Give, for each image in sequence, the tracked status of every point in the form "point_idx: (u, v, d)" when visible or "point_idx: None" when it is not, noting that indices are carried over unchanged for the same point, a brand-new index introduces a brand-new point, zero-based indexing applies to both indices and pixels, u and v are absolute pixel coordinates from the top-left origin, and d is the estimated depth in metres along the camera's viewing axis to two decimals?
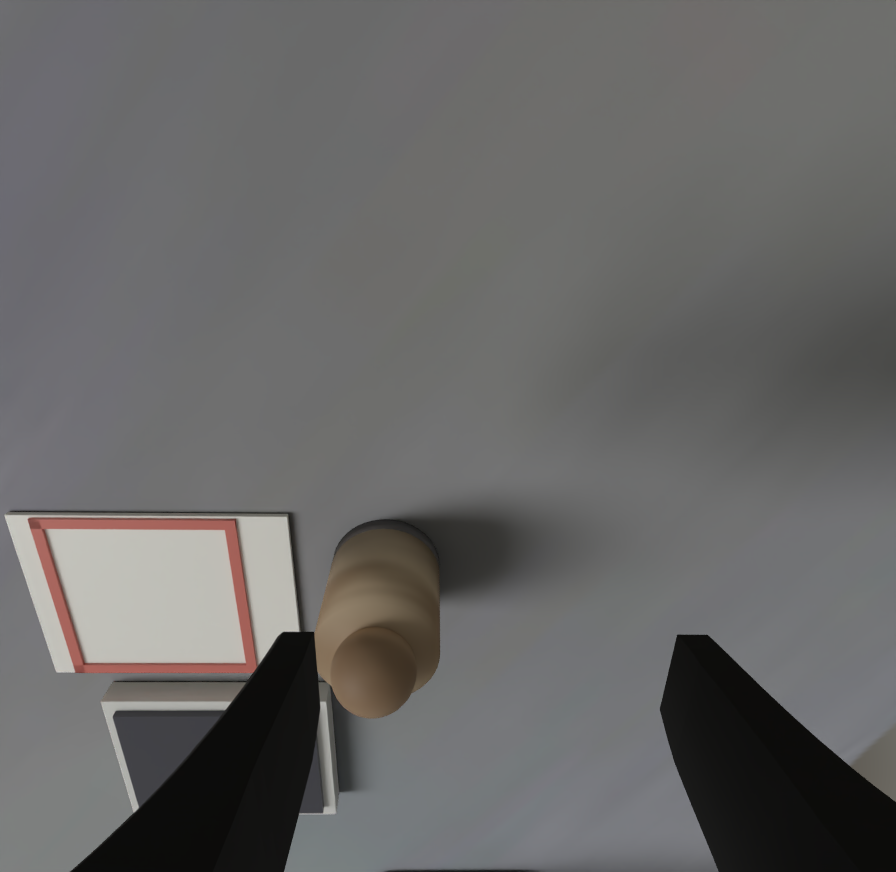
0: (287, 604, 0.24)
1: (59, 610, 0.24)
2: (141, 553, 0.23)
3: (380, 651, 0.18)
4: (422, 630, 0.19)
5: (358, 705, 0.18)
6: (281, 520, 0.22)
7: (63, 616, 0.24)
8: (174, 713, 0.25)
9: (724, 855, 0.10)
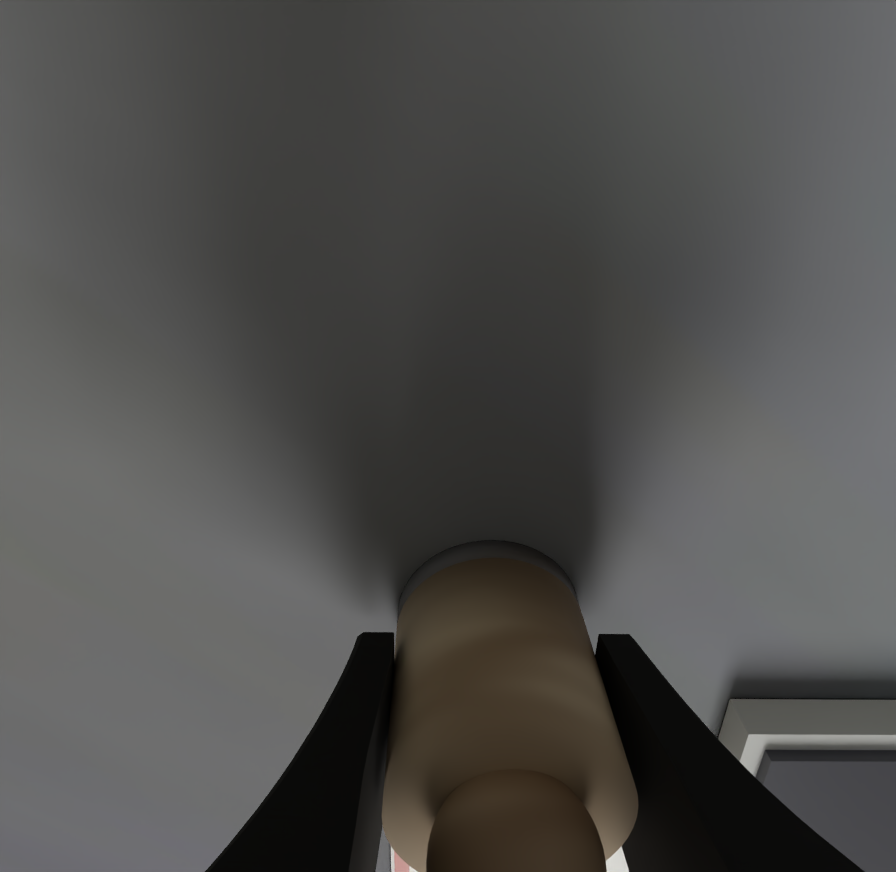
0: None
1: None
2: None
3: None
4: (450, 751, 0.09)
5: None
6: None
7: None
8: None
9: (633, 855, 0.10)
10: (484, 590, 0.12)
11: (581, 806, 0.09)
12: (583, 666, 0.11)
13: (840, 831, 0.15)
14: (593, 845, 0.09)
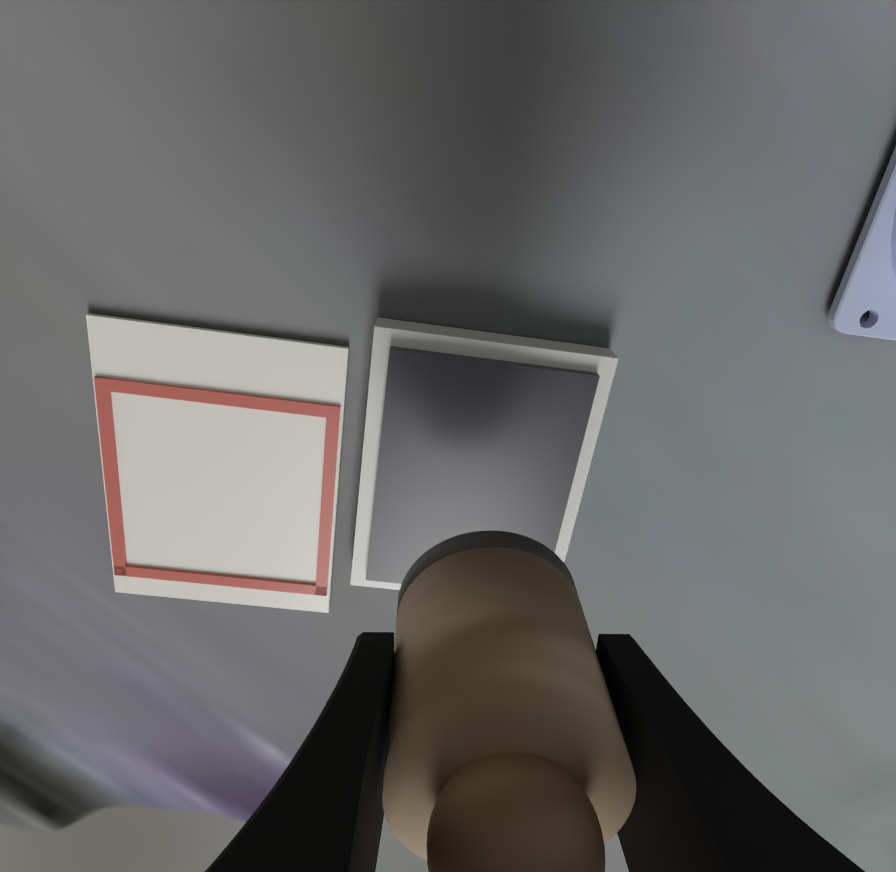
0: (227, 344, 0.18)
1: (239, 584, 0.22)
2: (154, 486, 0.20)
3: (432, 869, 0.09)
4: (440, 740, 0.09)
5: None
6: (92, 322, 0.18)
7: (247, 583, 0.22)
8: (372, 516, 0.20)
9: (633, 855, 0.10)
10: (472, 580, 0.12)
11: (574, 784, 0.09)
12: (573, 647, 0.11)
13: (459, 439, 0.18)
14: (586, 821, 0.09)
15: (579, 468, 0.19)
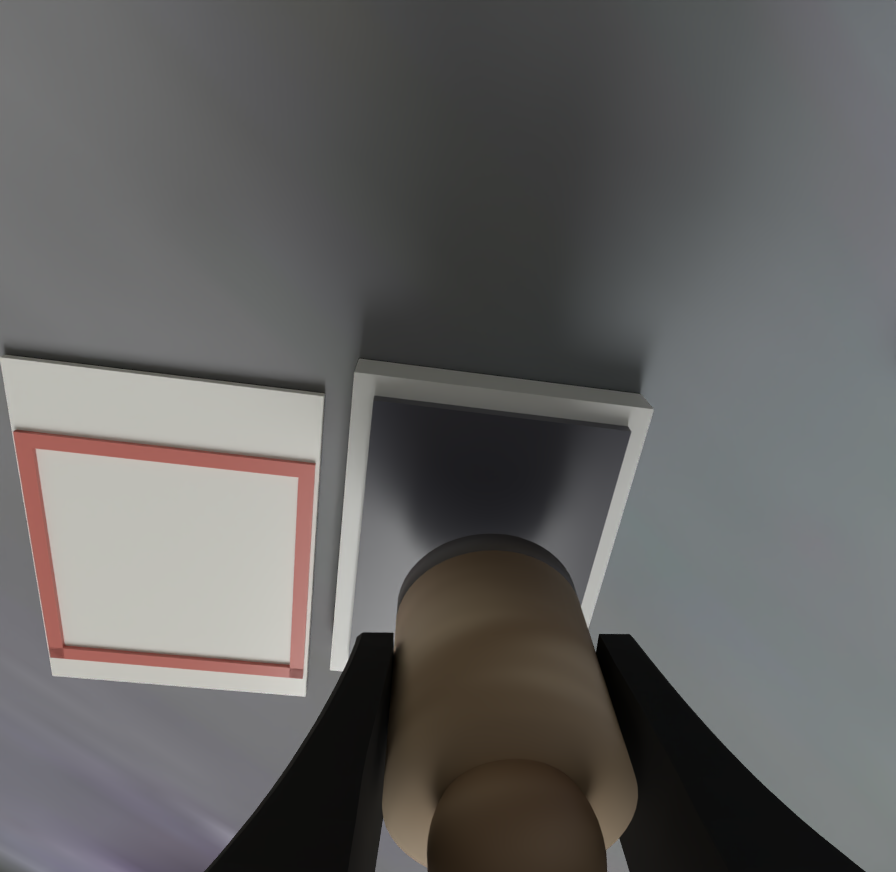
0: (175, 391, 0.15)
1: (199, 666, 0.19)
2: (93, 557, 0.17)
3: None
4: (441, 746, 0.09)
5: None
6: (8, 366, 0.15)
7: (209, 665, 0.19)
8: (354, 594, 0.16)
9: (633, 855, 0.10)
10: (472, 584, 0.12)
11: (576, 791, 0.09)
12: (574, 651, 0.11)
13: (459, 506, 0.15)
14: (588, 829, 0.09)
15: (603, 537, 0.16)
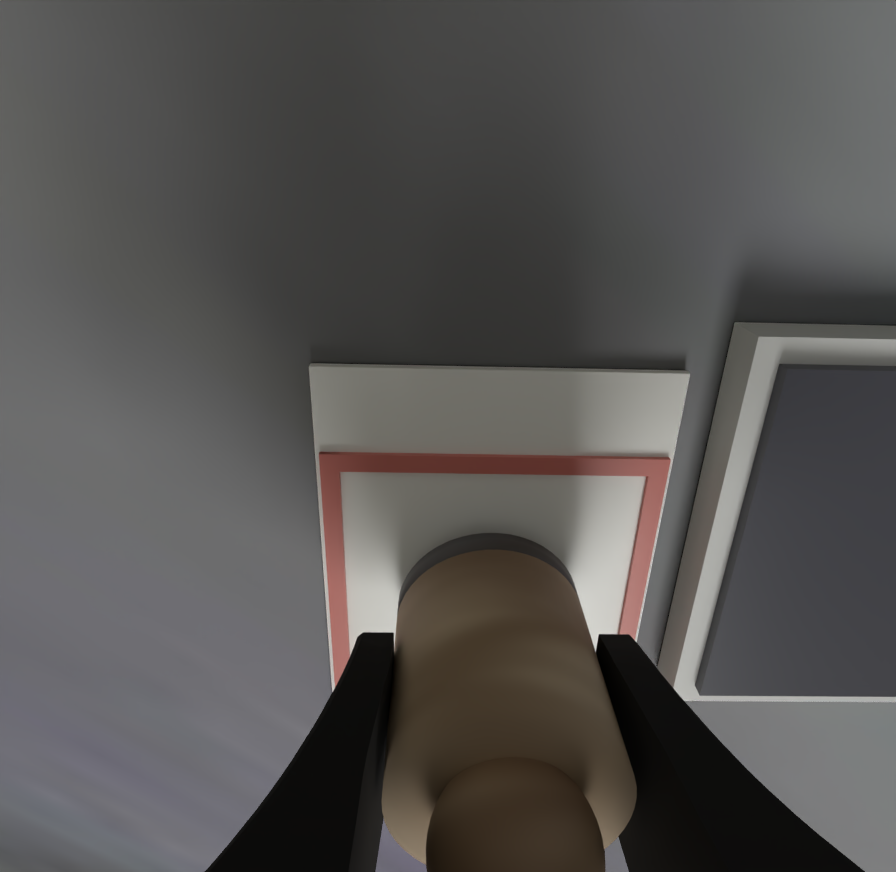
0: (511, 386, 0.12)
1: None
2: (394, 592, 0.14)
3: None
4: (441, 744, 0.09)
5: None
6: (318, 376, 0.12)
7: None
8: (718, 610, 0.14)
9: (633, 855, 0.10)
10: (475, 582, 0.12)
11: (575, 790, 0.09)
12: (575, 652, 0.11)
13: (872, 491, 0.12)
14: (587, 828, 0.09)
15: None
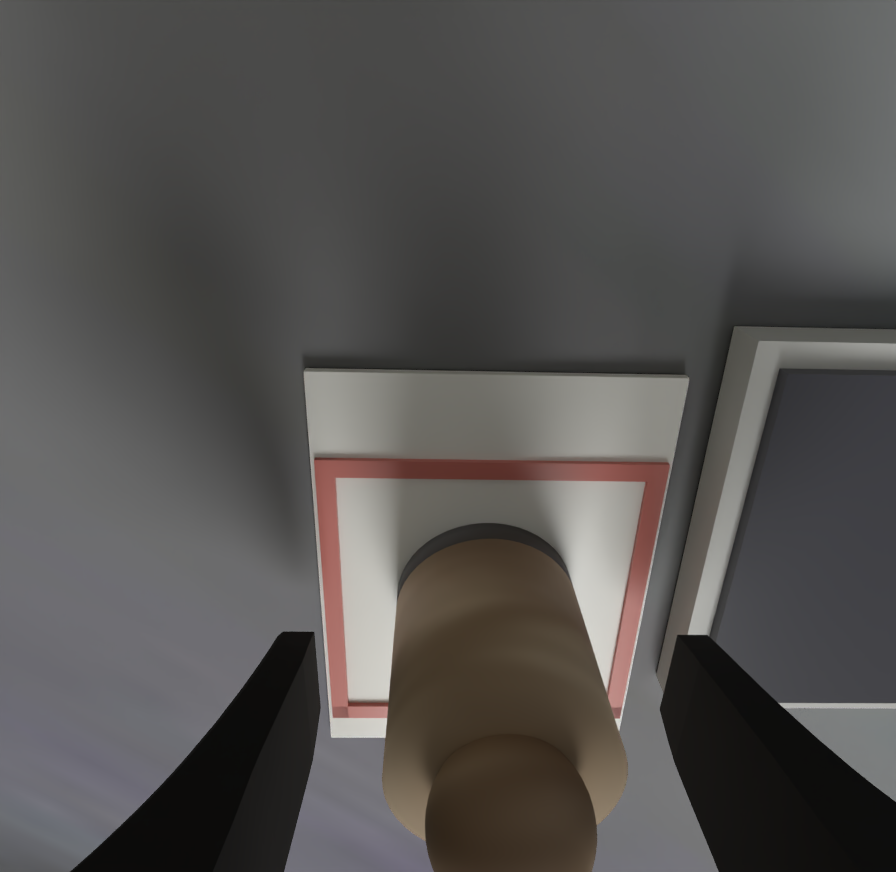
0: (508, 391, 0.12)
1: None
2: (391, 599, 0.14)
3: (430, 844, 0.09)
4: (440, 720, 0.10)
5: None
6: (312, 382, 0.12)
7: None
8: (718, 616, 0.13)
9: (724, 855, 0.10)
10: (472, 570, 0.12)
11: (568, 765, 0.09)
12: (569, 635, 0.11)
13: (873, 497, 0.12)
14: (580, 800, 0.09)
15: None
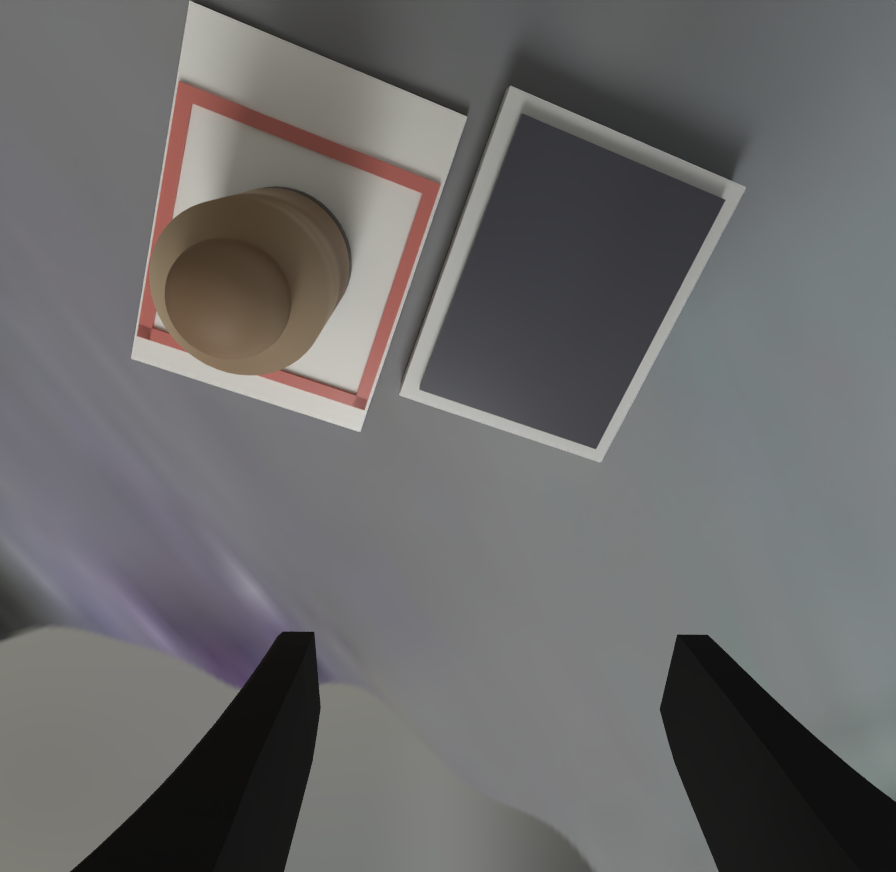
0: (338, 78, 0.16)
1: (273, 377, 0.20)
2: None
3: (167, 276, 0.13)
4: (203, 215, 0.14)
5: (212, 329, 0.13)
6: (194, 13, 0.16)
7: (282, 378, 0.20)
8: (446, 315, 0.18)
9: (724, 855, 0.10)
10: (271, 191, 0.16)
11: (282, 271, 0.14)
12: (320, 233, 0.15)
13: (564, 241, 0.17)
14: (279, 279, 0.13)
15: (672, 307, 0.18)
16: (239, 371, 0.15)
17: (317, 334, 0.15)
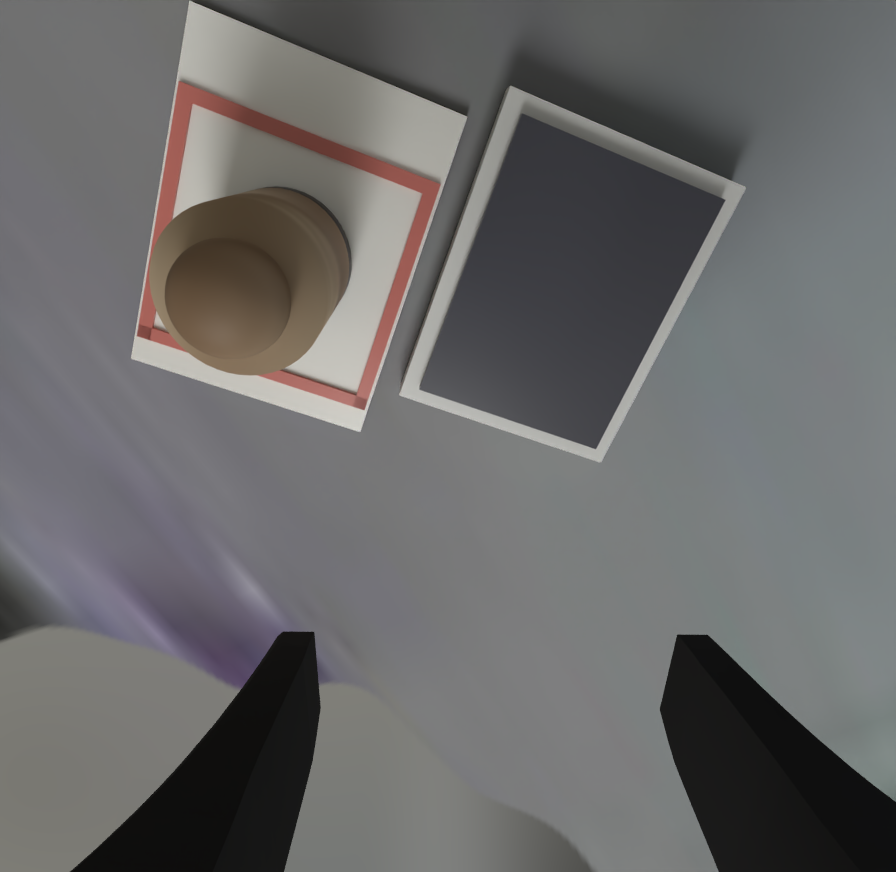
0: (338, 78, 0.16)
1: (273, 377, 0.20)
2: None
3: (167, 276, 0.13)
4: (203, 215, 0.14)
5: (212, 329, 0.13)
6: (194, 13, 0.16)
7: (282, 378, 0.20)
8: (446, 315, 0.18)
9: (724, 855, 0.10)
10: (271, 191, 0.16)
11: (282, 271, 0.14)
12: (320, 233, 0.15)
13: (564, 241, 0.17)
14: (279, 279, 0.13)
15: (672, 307, 0.18)
16: (239, 371, 0.15)
17: (317, 334, 0.15)
